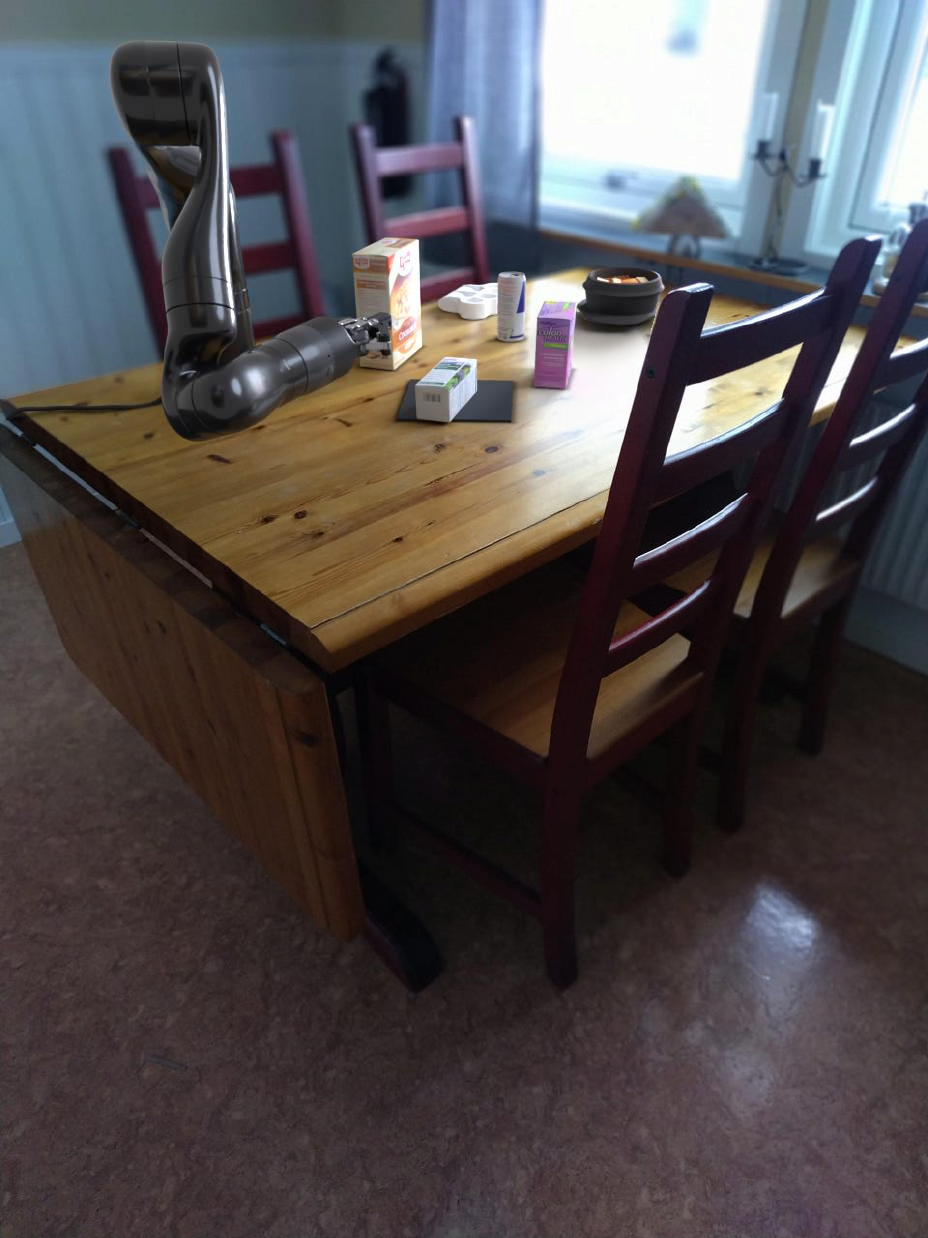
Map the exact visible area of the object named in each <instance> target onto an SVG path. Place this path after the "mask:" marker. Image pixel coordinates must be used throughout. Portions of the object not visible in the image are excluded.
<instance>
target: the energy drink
mask: <svg viewBox="0 0 928 1238" xmlns="http://www.w3.org/2000/svg"><path fill="white" fill-rule="evenodd" d="M497 277H498V278H497V283H498V294H497V314H496V337H497V339H498V340H499V341H501V342H505V343H516V342H521V341H522V340H523V339H524V338H525V318H526V317H525V316H526V315H525V314H526V280H527V278H526V276H525V273H524V272H518V271H504V272H500V273H499V274H498V276H497Z"/></svg>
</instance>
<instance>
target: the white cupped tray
mask: <svg viewBox="0 0 928 1238" xmlns="http://www.w3.org/2000/svg"><path fill="white" fill-rule="evenodd" d="M497 294H498V282H491V283H485V284H463V285H462V286H460V287H458V288H457V289H455V290H453V291H451V292H449V293H448V294H447V295H444V296H442V297H441V298H439V299H437V307H438V308H439V309H440V310H442V311H445V312H448V313H453V314H459V315H460V317H461V318H463V319H464V320H465V319H466V320H471V321H473V320H475V321H476V320H485V319H486V318H487V317H489V316H495V315H496V316H497Z"/></svg>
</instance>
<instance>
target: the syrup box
mask: <svg viewBox="0 0 928 1238" xmlns="http://www.w3.org/2000/svg"><path fill="white" fill-rule="evenodd" d="M477 361H478V360H477V358H465V357H453V356H452V357H451V356H444V357H443V358H441V360H440V361H439V362H438V363H437V364H436V365H435V366H434V367H433V368H432V369H431V370H429V372H427V374H425V375H424V377H422V378H421V379H420V381H419V382H418V383H417V384H416V385H415V397H416V414H417V419H421V420H432V421H431V422H442V423H451V422H452V421H451V420H452V419H453V418H454V417H455V416H456V415H457V413H458V412H459V411H460V410H461V409H462V408H463V406H464V405H465V404H466V403H467V402H468V401H469V399H470V398H471V397H472V396H473V395H474V394H475V393H476V391H477V380H478V366H477V365H478V363H477Z"/></svg>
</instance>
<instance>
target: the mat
mask: <svg viewBox="0 0 928 1238" xmlns="http://www.w3.org/2000/svg"><path fill="white" fill-rule="evenodd" d="M420 380H421V379H419V378H418V379H414V378H413V379H409V382H408V385H407V387H406V391H405V394H404V397H403V400H402V403H401V406H400V408H399V412H398V414H397V418H396V421H398V422H399V421H400V422H401V421H402V422H404V421H405V422H433V421H432V420H421V419H417V414H416V397H415V385H416V384H417V383H418V382H419V381H420ZM513 398H514V380H507V379H505V380H502V379H501V380H497V379H496V380H494V379H493V380H491V379H477V391H476V393H475V394H474V395H473V396H472V397H471V398H470V399H469V401H468V402H467V403H466V404H465V405H464V406H463V408H462V409H461V410H460V411H459V412H458V413H457V415H456V416H455V417H454V418H453V419H452V420H451V422H462V423H463V422H465V423H466V422H469V423H470V422H472V423H475V422H476V423H480V422H481V423H512V419H513Z"/></svg>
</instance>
